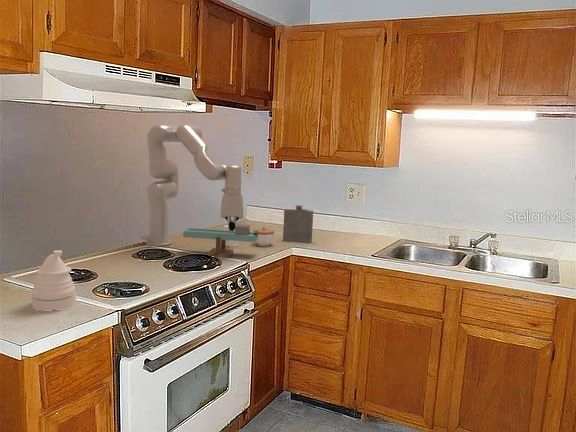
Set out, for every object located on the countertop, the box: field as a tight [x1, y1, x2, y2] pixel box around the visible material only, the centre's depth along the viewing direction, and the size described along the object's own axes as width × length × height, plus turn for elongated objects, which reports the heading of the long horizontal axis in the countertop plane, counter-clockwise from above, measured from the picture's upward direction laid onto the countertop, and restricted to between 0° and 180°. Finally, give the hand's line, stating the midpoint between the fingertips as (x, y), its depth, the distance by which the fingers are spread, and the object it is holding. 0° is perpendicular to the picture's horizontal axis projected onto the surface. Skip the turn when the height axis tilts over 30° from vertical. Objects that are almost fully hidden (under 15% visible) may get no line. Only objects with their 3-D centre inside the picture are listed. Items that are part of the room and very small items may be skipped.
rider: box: [235, 223, 251, 235], centre depth 241 cm, size 6×6×4 cm
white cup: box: [223, 224, 239, 248], centre depth 263 cm, size 8×8×10 cm
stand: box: [206, 237, 235, 259], centre depth 243 cm, size 10×13×9 cm
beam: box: [182, 227, 258, 243], centre depth 243 cm, size 34×10×5 cm, turn 85°
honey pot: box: [31, 249, 77, 310], centre depth 165 cm, size 13×13×18 cm
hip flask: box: [282, 204, 314, 244], centre depth 279 cm, size 16×4×20 cm, turn 80°
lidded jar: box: [252, 226, 275, 247], centre depth 268 cm, size 11×11×9 cm
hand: (231, 230), depth 242 cm, fingers closed
